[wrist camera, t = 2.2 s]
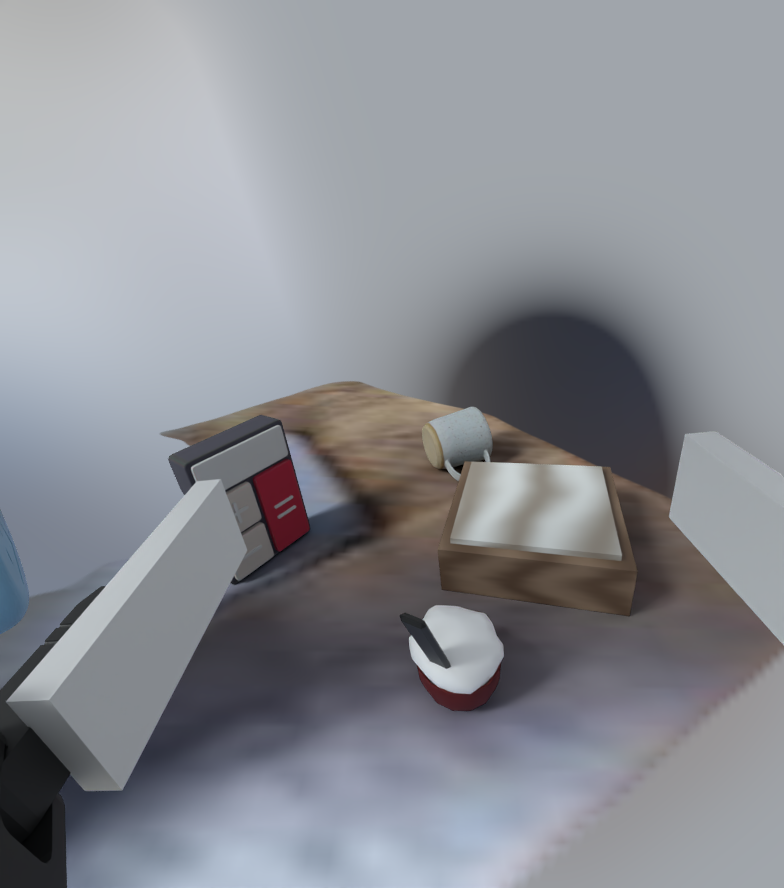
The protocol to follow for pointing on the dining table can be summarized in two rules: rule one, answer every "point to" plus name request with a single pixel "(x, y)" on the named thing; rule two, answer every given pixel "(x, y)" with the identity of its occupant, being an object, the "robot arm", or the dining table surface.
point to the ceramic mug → (457, 440)
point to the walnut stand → (539, 537)
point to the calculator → (250, 485)
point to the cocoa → (455, 655)
